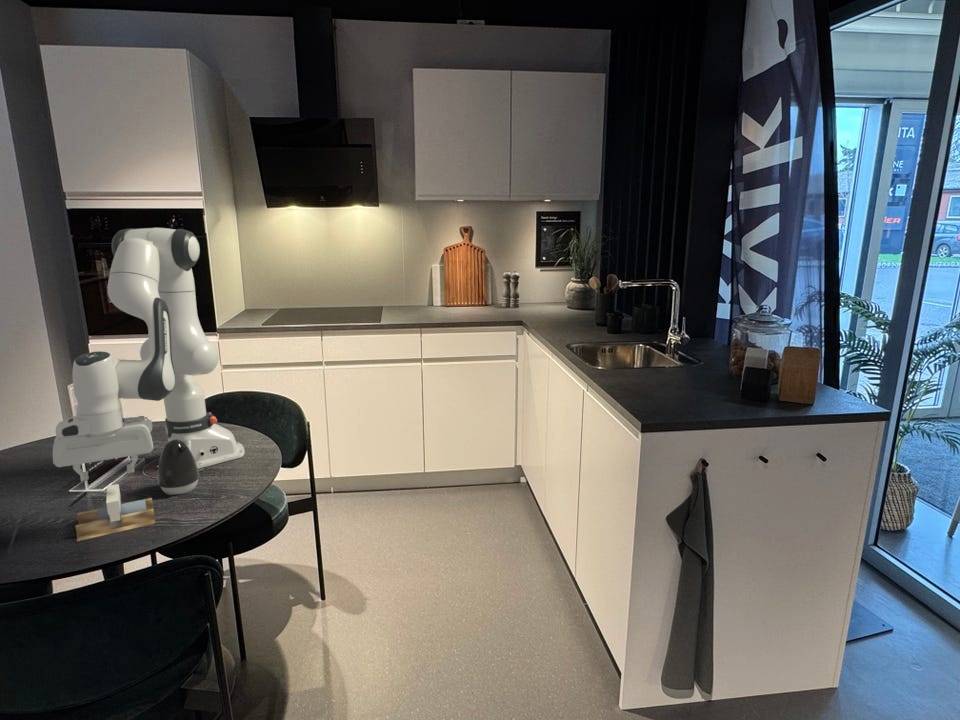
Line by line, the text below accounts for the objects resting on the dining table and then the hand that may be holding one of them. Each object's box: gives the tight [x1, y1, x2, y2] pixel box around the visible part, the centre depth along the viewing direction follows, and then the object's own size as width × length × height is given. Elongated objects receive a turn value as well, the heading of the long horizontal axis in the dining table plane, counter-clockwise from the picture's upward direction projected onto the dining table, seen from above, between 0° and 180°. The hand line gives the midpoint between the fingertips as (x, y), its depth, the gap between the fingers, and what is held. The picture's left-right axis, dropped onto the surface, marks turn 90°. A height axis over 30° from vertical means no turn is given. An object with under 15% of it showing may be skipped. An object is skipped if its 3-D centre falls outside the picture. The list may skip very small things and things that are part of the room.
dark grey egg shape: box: [157, 440, 200, 496], centre depth 160 cm, size 10×10×15 cm
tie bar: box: [105, 483, 121, 522], centre depth 143 cm, size 2×10×5 cm, turn 31°
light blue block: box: [97, 498, 147, 520], centre depth 145 cm, size 10×4×4 cm, turn 121°
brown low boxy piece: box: [75, 497, 156, 542], centre depth 142 cm, size 24×12×6 cm, turn 121°
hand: (108, 476), depth 141 cm, fingers open, 8 cm apart
